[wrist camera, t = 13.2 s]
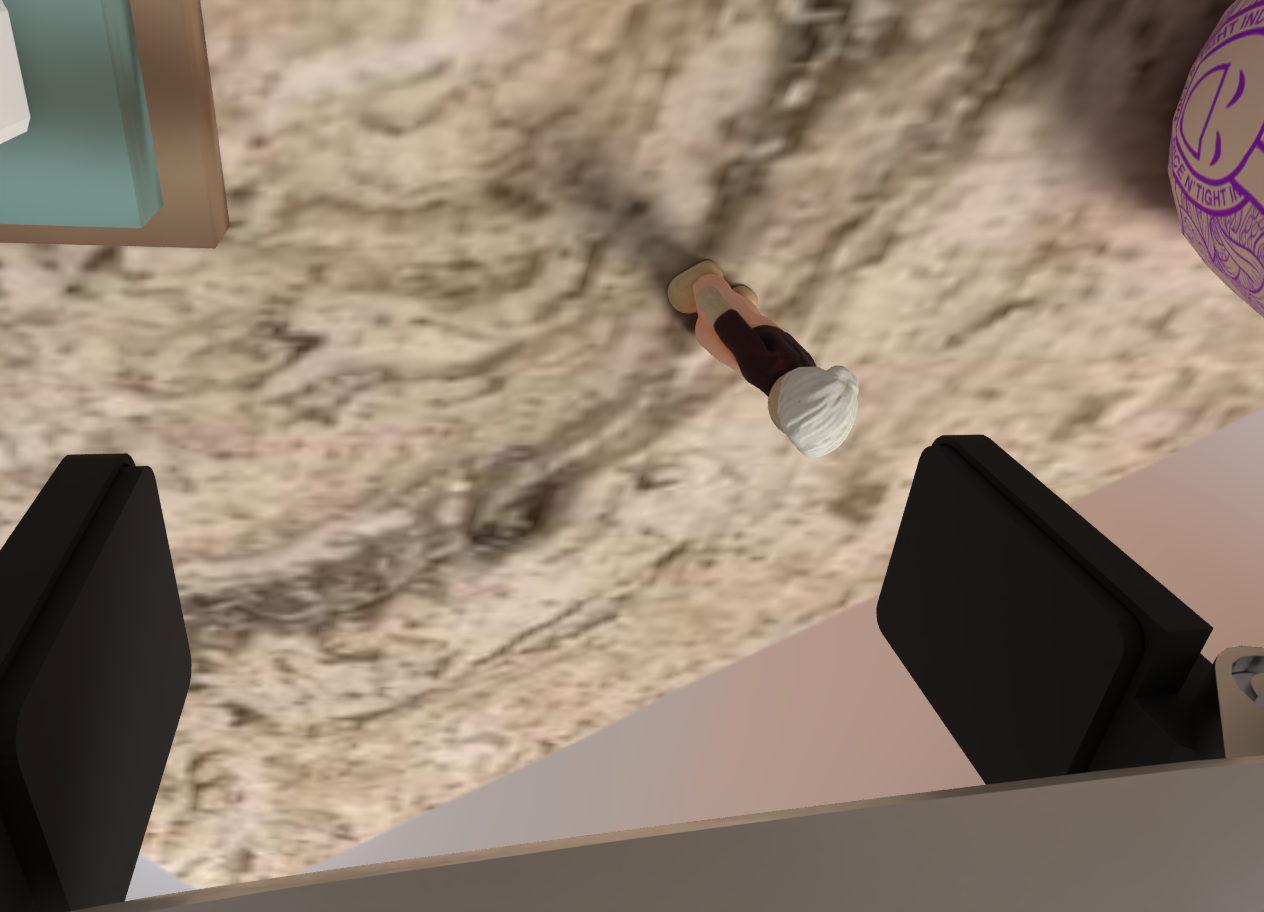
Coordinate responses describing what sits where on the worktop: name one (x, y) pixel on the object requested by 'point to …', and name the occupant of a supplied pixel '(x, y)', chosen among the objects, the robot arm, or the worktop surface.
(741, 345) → the grandmother figurine
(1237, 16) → the bowl of food
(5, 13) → the pepper shaker
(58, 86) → the square push button
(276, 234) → the worktop surface
